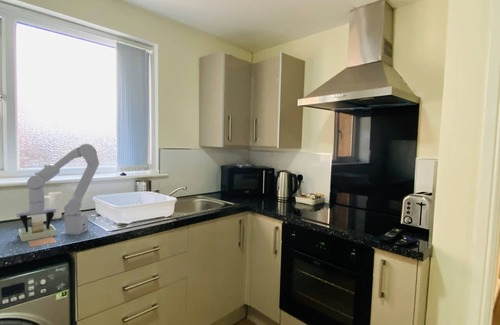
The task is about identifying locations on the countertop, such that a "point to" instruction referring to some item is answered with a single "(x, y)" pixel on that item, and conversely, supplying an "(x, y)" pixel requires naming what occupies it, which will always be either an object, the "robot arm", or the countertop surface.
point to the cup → (42, 216)
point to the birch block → (37, 227)
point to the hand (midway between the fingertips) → (37, 230)
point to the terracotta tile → (41, 241)
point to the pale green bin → (29, 236)
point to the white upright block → (56, 203)
